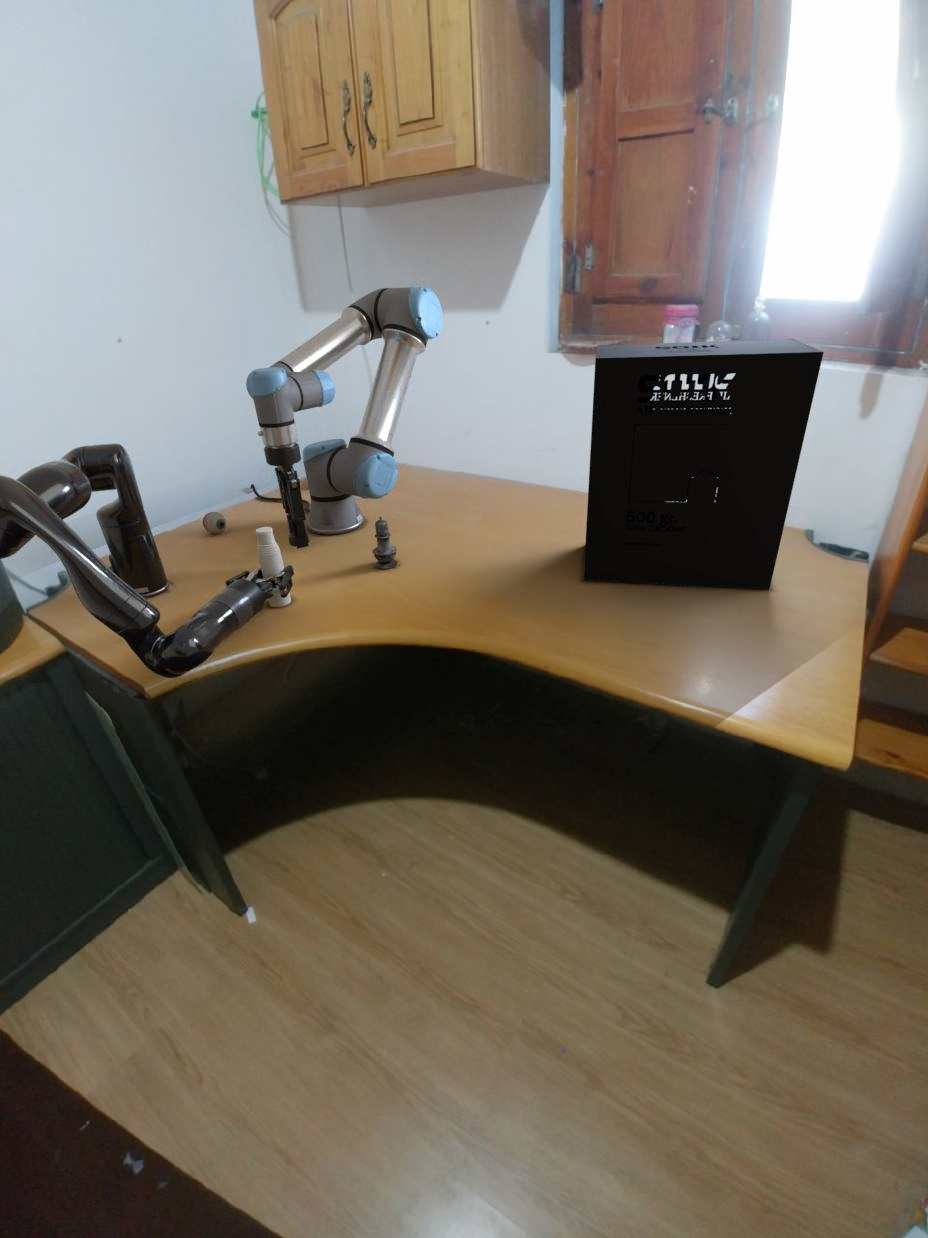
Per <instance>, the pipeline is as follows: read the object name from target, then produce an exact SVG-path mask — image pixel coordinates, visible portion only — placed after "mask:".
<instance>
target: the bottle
mask: <svg viewBox="0 0 928 1238" xmlns="http://www.w3.org/2000/svg"><path fill="white" fill-rule="evenodd" d="M273 530H274V529H273V528H272V527H271V526H261V527H258V528H257V529H255V535H256V538H257V547H256V554H257V558H258V563H259V567H260V568H261V571H262V575H263V578H265V577H267V576H269V575H271V574H272V575H276V574H278V573H280V572H281V571H282V570H283V569H284V568H285V566H284V561H283V557H282V552H281V547H280V546H279V543H278V542H277V541H276V540H275V536H274V531H273ZM270 581H271V580H270ZM279 582H280V578H279V579H278V583H279ZM267 600H268V604H269V606H270V607H272V608H282V607H285V606H288V605H290V604H291V602H292V598H291V593H290V592H289V594H288V596H287V597H285V598H282V597H281V595H280V594H274V595H273V596H272V597H271V598H268V599H267Z"/></svg>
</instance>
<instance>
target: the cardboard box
mask: <svg viewBox="0 0 928 1238" xmlns="http://www.w3.org/2000/svg"><path fill="white" fill-rule="evenodd" d="M823 356H824V351H822V350H820V349H817V348H816V347H813V346H810V345H808V344H806V343H803V342H801V341H799V340H796V339H793V338H783V339H782V338H781V339H779V338H777V339H752V340H750V339H749V340H747V339H746V340H723V341H722V340H720V341H719V340H718V341H689V342H687V341H685V342H660V343H659V342H657V343H629V344H628V343H627V344H622V343H621V344H597V346H596V352H595V358H594V359H595V360H594V379H593V395H592V412H591V413H592V417H591V433H590V452H589V453H590V454H589V470H588V471H589V472H588V491H587V507H586V508H587V510H586V527H585V529H586V530H585V531H586V532H585V547H584V563H583V565H584V566H583V582H597V583H598V582H599V583H600V582H601V583H620V584H621V583H622V584H643V585H644V584H645V585H666V586H667V585H669V586H687V587H711V588H729V589H730V588H734V589H753V590H754V589H755V590H771V585H772V580H773V575H774V571H775V567H776V563H777V558H778V554H779V550H780V547H781V540H782V535H783V534H784V533H783V532H784V527H785V523H786V519H787V516H788V515H787V514H788V512H789V511H788V510H789V507H790V501H791V498H792V493H793V488H794V483H795V480H796V475H797V471H798V467H799V462H800V457H801V453H802V449H803V445H804V440H805V437H806V436H805V435H806V431H807V427H808V423H809V417H810V413H811V410H812V404H813V401H814V396H815V392H816V388H817V384H818V379H819V375H820V369H821V366H822V362H823ZM730 374H734V375H733V377H732V378H729V379H728V378H726V377H727V376H728V375H730ZM672 375H674V379H672V380H671V383H670V389H668V384H669V379H667V377H668V376H672ZM682 375H686V380H685V385H688V387H687V388H684V389H682V388H683V380H682V379H681V376H682ZM694 375H697V380H696V379H693V378H694ZM712 375H713V381H712V385H711V387H710V383H711V376H712ZM725 378H726V379H725ZM716 381H717V382H716ZM696 383H697V385H702V386H701V388H698V389H697V388H696ZM716 385H717V386H718V385H719V386H721V385H726V387H725V388H717V386H716ZM656 387H658V388H659V389H655V388H656Z"/></svg>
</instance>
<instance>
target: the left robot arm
mask: <svg viewBox="0 0 928 1238" xmlns="http://www.w3.org/2000/svg"><path fill="white" fill-rule="evenodd" d="M115 490H116V494H117V498H116V499H114V500H113V501H111V502H109V503H106V504H104V505H102V506H101V507H99V508H98V509H97V510H96V512H95V516H96V519H97V522H98V525H99V527H100V529H101V532H102V536H103V538H104V540H105V542H106V543H105V544H106V545H107V548H108V550H109V555H108V561H109V563H110V566H108V565H107V564H106V563H105V562H103V560H102V559H101V558H100V557H99V556H98V555H97V554H96V553H95V552H94V551H93V549H92V548H90V546H89V545H88V544H87V543H86V542H85V541H84V540H83V539H82V538H81V537H80V536H79V535H78V534H77V532H76V531H74V530H73V528H72V527H70V526H69V524H68V523H67V522H66V521H65V519H67V518H69V517H71V516H72V515H74V514H75V513H77V512H79V511H81V510H82V509H83V508H84V507H85V506H87V504H88V503H89V501H90V499H91V497H92V493H94V492H95V493H97V492H105V491H115ZM34 537H37V538H39V539H40V540H41V541H43V542H44V543H45V544H46V545H47V546H48V547H50V549H51V550H52V551H53V552H54V553H55V555H57V557H58V559H59V560H60V562H61V563H62V565H63V567H64V569H65V571H66V573H67V575H68V577H69V579H70V582H71V584H72V587H73V589H74V591H75V593H76V596H77V598H78V599H79V601H80V602H81V605H82V606H83V607H84V608H85V610H86V611H87V612H88V613H89V614H90V615H91V616H92V617H93V618H95V619H96V620H97V621H98V622H100V623H101V624H103V625H104V626H105V627H107V628H108V629H109V630H110V631H112V632H113V633H114V634H116V635H118V636H119V637H121V639H123V640H124V641H125V642H126V644H127V645H128V647H129V649H130V650H131V651H132V652H133V653H134V654H135V655H136V656H137V657H138V660H140V661H141V662H142V663H143V665H144V666H145V667H146V668H147V669H148V670H149V671H151V672H152V673H154V674H155V675H157V676H159V677H162V678H165V679H177V678H180V677H182V676H184V675H185V674H187V673H189V672H190V671H192V670H194V669H196V668H198V667H199V666H201V665H202V664H204V663H205V662H206V661H207V660H209V658H210V657H211V656H212V655H213V654H214V653H215V652H216V651H217V649H218V648H219V647H220V646H221V644H222V643H223V642H225V641H226V640H227V639H228V638H229V637H231V635H233V634H234V633H235V632H236V631H238V630H239V629H241V628H243V627H244V626H245V625H246V624H247V623H249V621H250V620H252V619H253V618H254V617H255V616H256V615H257V614H259V612H261V610H263V608H264V606H265V604H266V601H267V600H268V598H271V597H272V596H273V595H274V594H280V595H281V597H282V598H285V597H287V596H288V594H289V593H290V592H291V590H292V588H293V586H294V584H293V578H292V577H293V576H294V575H295V571H294V567H293V565H291V564H288V565H287V566H284V569H283V570H282V571H281V572H280V573H278V574H276V575H272V574H271V575H269V576H267V577H265V578H263V575H262V571H261V567H260V568H258V569H254V570H252V572H250V570H245V571H242V572H240V573H239V574H237V575H234V576H232V577H230V578H229V579H227V580H225V581H224V582H225V588H223V589H221V590H220V592H218V593H217V594H215V596H213V597H212V598H211V599H210V601H208V603H206V604H205V605H203V606H202V607H201V608H200V609H198V610H197V611H196V612H195V613H194V614H193V615H192V616H191V617H190V618H189V620H188V621H186V622H185V623H183V624H182V625H181V626H178V628H176V629H175V630H173V631H171V632H170V633H168V634H167V635H166V634H165V633H164V632H163V631H162V630H161V628H160V627H159V626H158V623H159V622H160V620H161V612H160V610H159V609H158V607H156V606H155V605H154V604H153V603H152V602H150V601H149V600H148V599H149V598H152V597H155V596H158V595H160V594H162V593H164V592H166V591H167V590H168V589H169V588H170V582H169V579H168V577H167V574H166V571H165V568H164V565H163V562H162V559H161V556H160V552H159V549H158V547H157V544H156V541H155V538H154V534H153V532H152V528H151V526H150V523H149V520H148V517H147V514H146V511H145V509H144V504H143V499H142V495H141V491H140V488H139V485H138V481H137V477H136V474H135V470H134V466H133V462H132V460H131V457H130V455H129V453H128V451H127V450H126V448H125V447H124V446H123V445H122V444H120V443H116V442H114V443H112V442H111V443H102V444H93V445H92V444H89V445H82V446H78V447H75V448H72V449H71V450H70V451H68V452H67V453H66V454H64V455H63V456H62V457H61V458H59V459H55V460H51V461H48V462H45V463H42V464H40V465H38V466H35V467H32V468H31V469H29V470H27V471H25V473H23V474H21V475H20V476H19V477H18V478H16V479H15V478H13V477H11V476H7V475H2V474H0V560H3V559H7V558H9V557H12V556H13V555H15V554H17V553H18V552H19V551H20V550H21V549H22V548H24V546H25V545H27V544H28V543H29V542H30V541H31V540H32V539H34ZM279 578H280V582H279V583H278V579H279ZM270 580H271V581H270Z"/></svg>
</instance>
